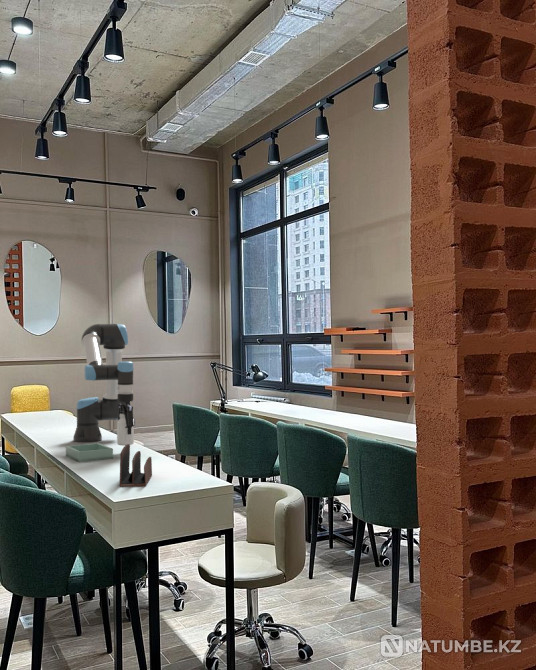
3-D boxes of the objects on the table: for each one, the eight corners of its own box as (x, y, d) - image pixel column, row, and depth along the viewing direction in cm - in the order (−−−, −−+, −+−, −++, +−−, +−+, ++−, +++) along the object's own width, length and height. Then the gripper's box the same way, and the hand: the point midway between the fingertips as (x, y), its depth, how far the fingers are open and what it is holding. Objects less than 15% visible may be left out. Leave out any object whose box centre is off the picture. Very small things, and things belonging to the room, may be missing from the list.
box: (66, 455, 311) (66, 446, 311) (98, 452, 320) (98, 443, 320) (78, 462, 294) (78, 452, 294) (112, 458, 303) (112, 448, 303)
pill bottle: (113, 444, 316) (113, 414, 316) (124, 442, 323) (124, 412, 323) (126, 446, 312) (126, 415, 312) (137, 443, 319) (137, 413, 319)
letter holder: (119, 487, 244) (119, 449, 244) (127, 476, 263) (127, 441, 264) (146, 486, 244) (146, 449, 244) (152, 476, 264) (152, 441, 264)
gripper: (110, 391, 324) (110, 437, 324) (125, 395, 306) (125, 443, 307) (125, 391, 328) (125, 436, 328) (140, 394, 311) (140, 442, 311)
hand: (125, 439), depth 317 cm, fingers closed on pill bottle, 8 cm apart
